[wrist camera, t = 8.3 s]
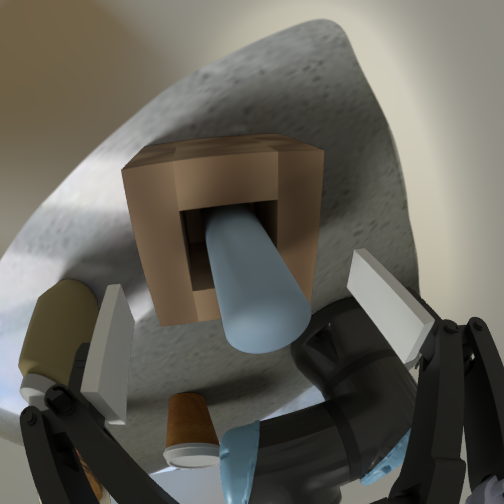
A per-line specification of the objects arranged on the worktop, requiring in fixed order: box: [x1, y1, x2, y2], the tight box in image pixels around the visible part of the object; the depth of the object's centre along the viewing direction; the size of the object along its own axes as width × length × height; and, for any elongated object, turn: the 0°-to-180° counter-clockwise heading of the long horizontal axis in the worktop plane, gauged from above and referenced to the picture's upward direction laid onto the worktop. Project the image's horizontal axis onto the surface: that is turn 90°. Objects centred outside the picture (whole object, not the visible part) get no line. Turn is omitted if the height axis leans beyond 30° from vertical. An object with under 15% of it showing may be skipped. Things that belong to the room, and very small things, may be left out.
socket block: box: [121, 134, 324, 327], centre depth 22 cm, size 12×12×9 cm
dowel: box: [200, 203, 311, 354], centre depth 18 cm, size 4×4×14 cm
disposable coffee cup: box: [163, 393, 220, 469], centre depth 36 cm, size 10×10×12 cm
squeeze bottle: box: [18, 279, 99, 411], centre depth 19 cm, size 8×8×18 cm
